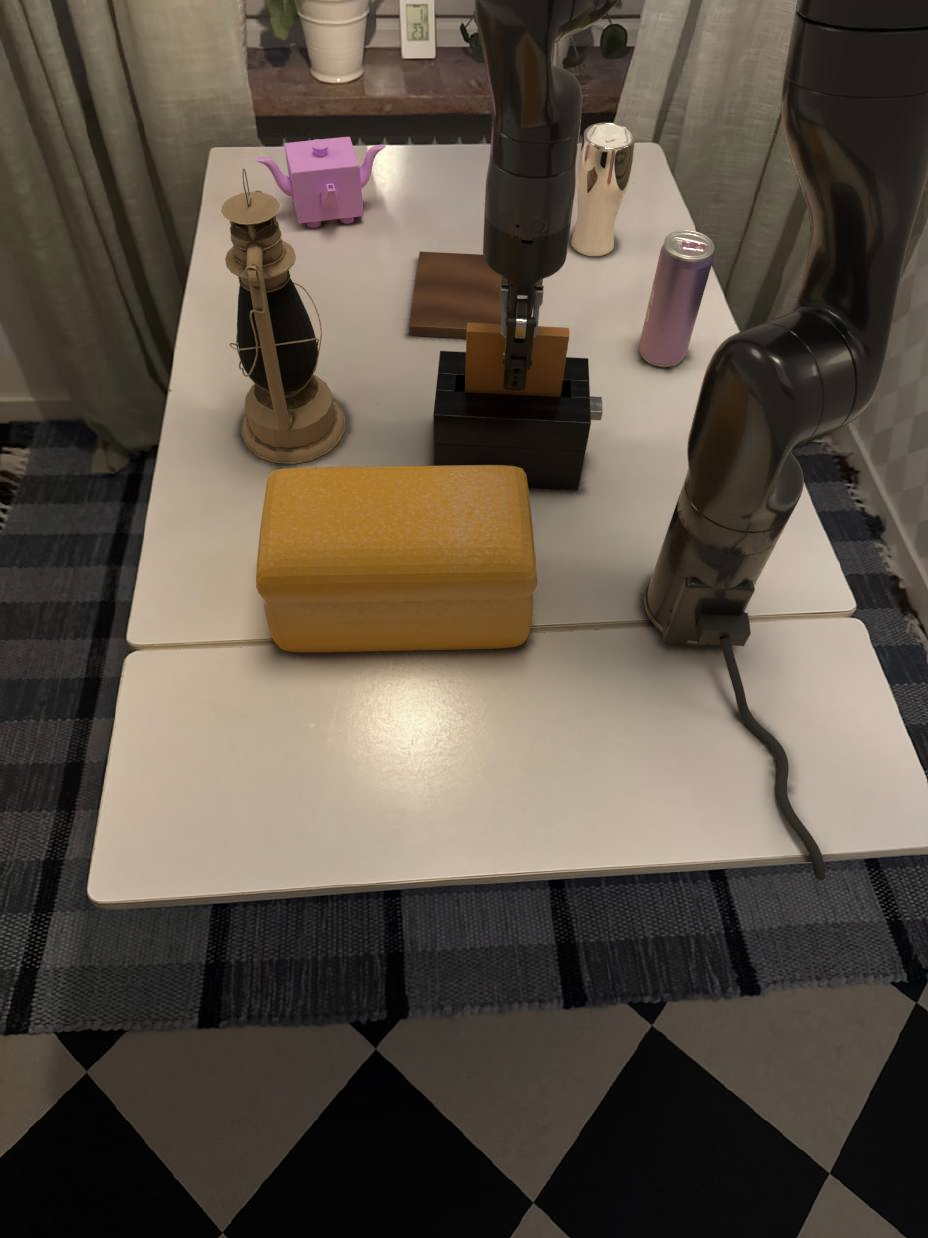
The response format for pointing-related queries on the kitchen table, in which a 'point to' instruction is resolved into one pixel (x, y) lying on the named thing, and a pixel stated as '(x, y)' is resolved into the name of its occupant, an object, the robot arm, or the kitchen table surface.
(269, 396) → the lantern
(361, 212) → the teapot
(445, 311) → the board
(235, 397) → the kitchen table surface
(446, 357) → the toaster
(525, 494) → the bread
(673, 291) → the beverage can
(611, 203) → the beer glass
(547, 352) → the toast
